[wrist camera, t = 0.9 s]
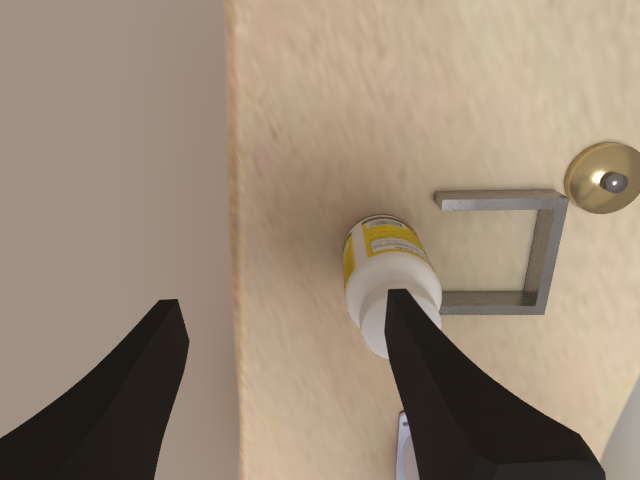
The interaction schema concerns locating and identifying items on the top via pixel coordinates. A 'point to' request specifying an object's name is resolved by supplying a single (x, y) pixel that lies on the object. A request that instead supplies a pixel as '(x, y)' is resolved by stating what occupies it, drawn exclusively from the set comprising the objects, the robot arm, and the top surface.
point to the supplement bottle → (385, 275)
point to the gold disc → (604, 178)
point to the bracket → (540, 258)
